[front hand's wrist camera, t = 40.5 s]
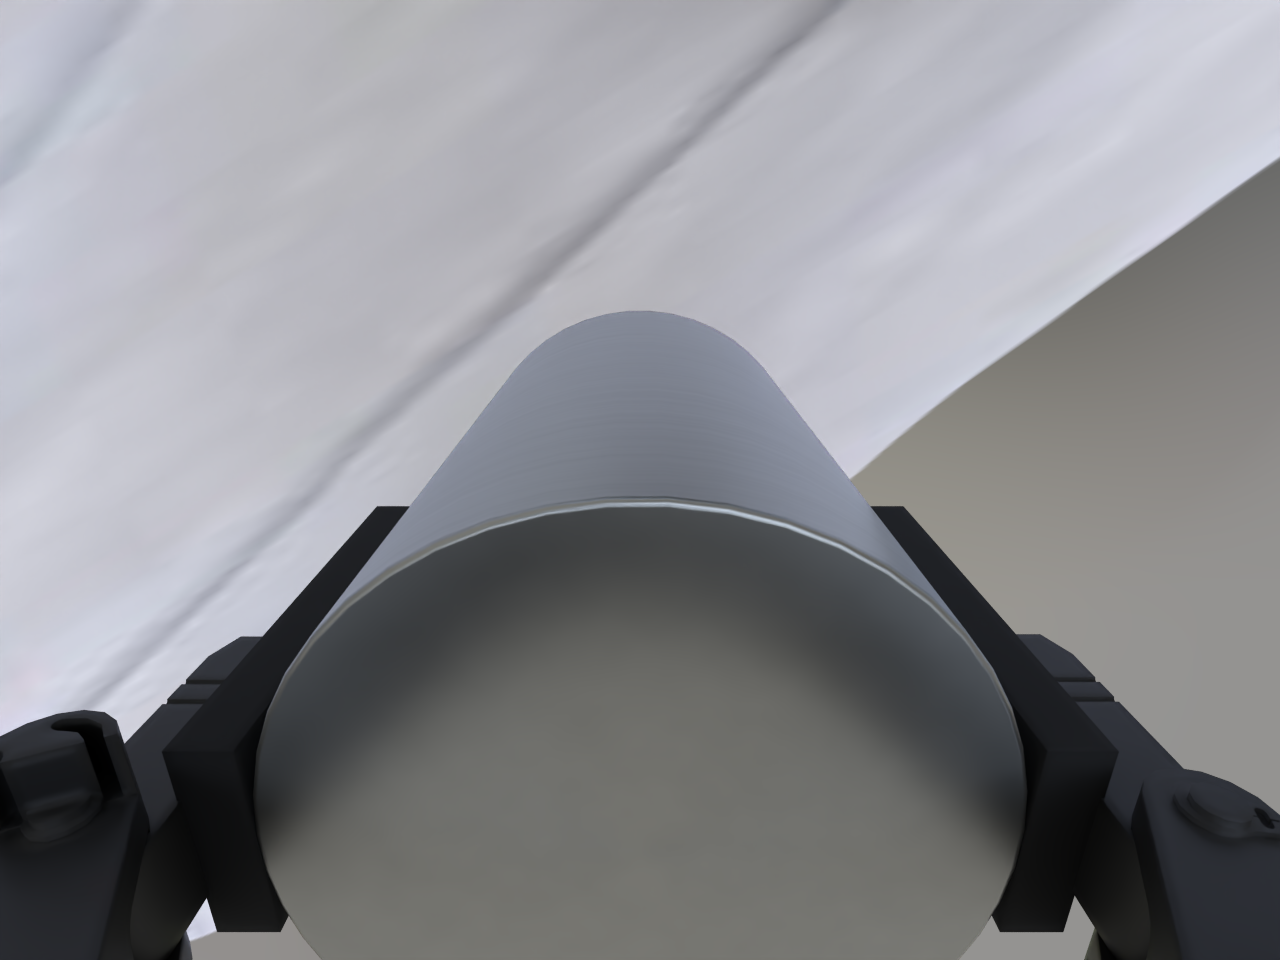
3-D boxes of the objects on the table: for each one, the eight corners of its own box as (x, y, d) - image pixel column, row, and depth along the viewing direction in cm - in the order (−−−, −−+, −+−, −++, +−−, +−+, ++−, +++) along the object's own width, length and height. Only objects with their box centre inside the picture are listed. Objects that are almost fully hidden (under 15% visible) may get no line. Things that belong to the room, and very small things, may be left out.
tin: (628, 652, 22) (614, 1166, 10) (420, 455, 19) (89, 828, 8) (857, 480, 20) (1171, 876, 8) (655, 237, 17) (684, 296, 6)
